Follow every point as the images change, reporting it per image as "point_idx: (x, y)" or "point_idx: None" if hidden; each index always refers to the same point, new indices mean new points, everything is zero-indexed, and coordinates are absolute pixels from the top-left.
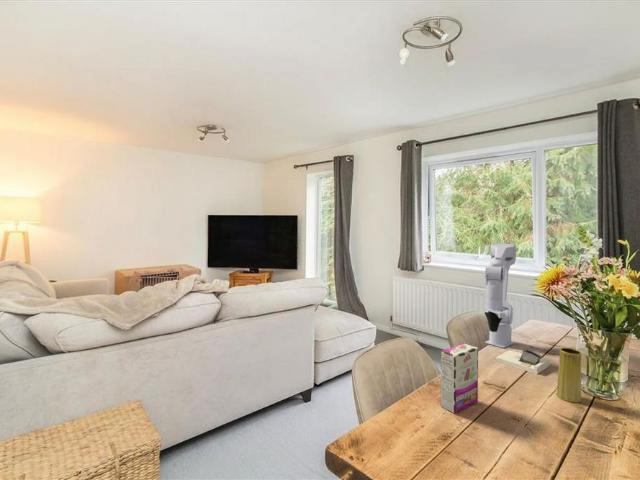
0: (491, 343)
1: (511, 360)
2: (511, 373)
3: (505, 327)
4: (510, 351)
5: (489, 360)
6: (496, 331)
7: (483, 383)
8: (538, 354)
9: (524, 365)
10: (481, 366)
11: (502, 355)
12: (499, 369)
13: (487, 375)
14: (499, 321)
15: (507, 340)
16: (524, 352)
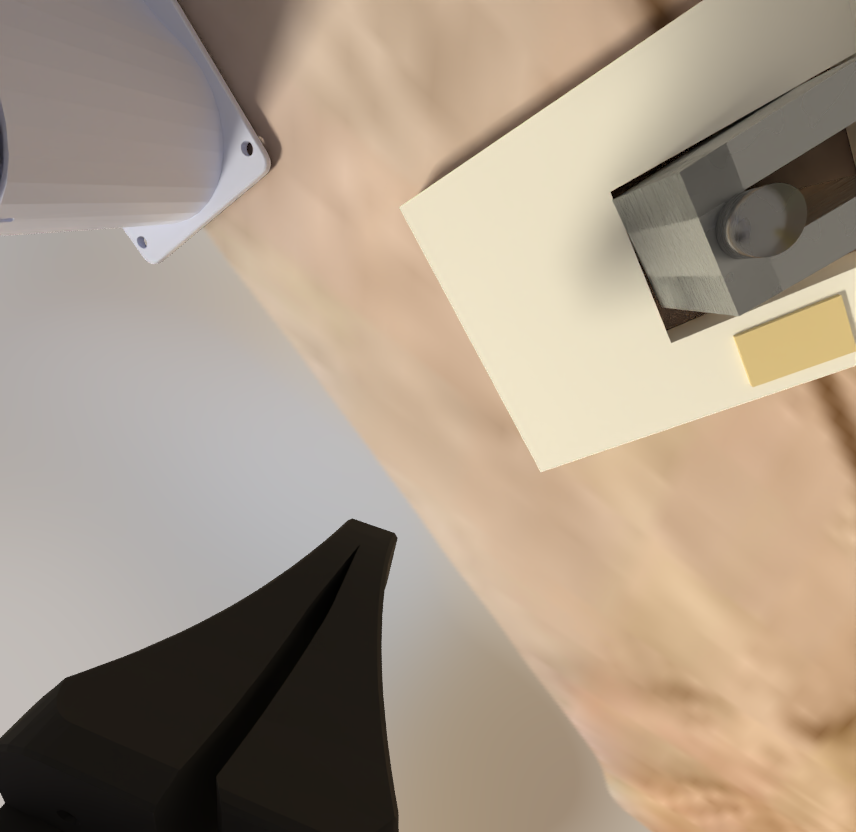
0: (183, 231)
1: (646, 398)
2: (788, 509)
3: (11, 59)
4: (435, 230)
5: (515, 484)
6: (394, 542)
7: (817, 742)
8: (847, 86)
9: (800, 366)
10: (596, 598)
11: (516, 389)
12: (685, 534)
13: (734, 658)
14: (381, 707)
15: (160, 49)
16: (749, 306)
